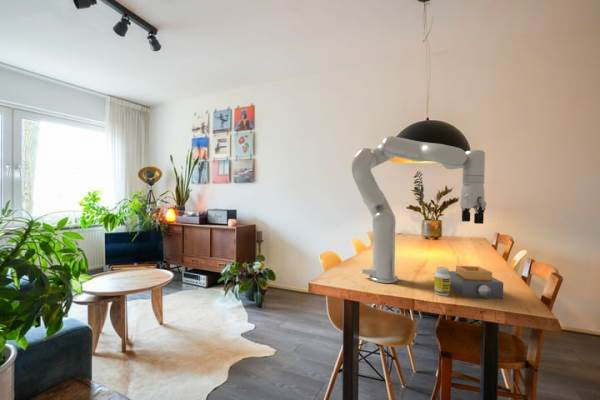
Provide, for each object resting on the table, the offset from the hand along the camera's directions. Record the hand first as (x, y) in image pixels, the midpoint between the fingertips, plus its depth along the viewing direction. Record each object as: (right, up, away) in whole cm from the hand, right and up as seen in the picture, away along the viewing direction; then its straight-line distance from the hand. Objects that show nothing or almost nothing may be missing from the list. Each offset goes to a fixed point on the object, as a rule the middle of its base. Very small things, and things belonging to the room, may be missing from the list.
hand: (472, 222), depth 113 cm
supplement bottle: (-16, -27, -7) cm, 32 cm away
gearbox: (-3, -27, -5) cm, 27 cm away
